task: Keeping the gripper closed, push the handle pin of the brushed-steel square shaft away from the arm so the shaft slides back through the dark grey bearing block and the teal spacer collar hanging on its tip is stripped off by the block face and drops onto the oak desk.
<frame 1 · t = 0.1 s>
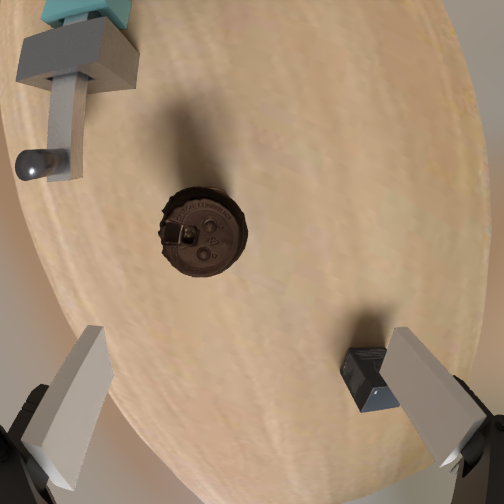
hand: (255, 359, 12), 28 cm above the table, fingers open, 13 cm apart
shaft: (60, 55, 20), point 12 cm above the table, slide at 0.0 cm, touching spacer
box: (362, 359, 49), on the table
spacer: (99, 20, 25), point 4 cm above the table, touching shaft
coffee cup: (207, 210, 38), on the table
bearing block: (102, 75, 31), on the table
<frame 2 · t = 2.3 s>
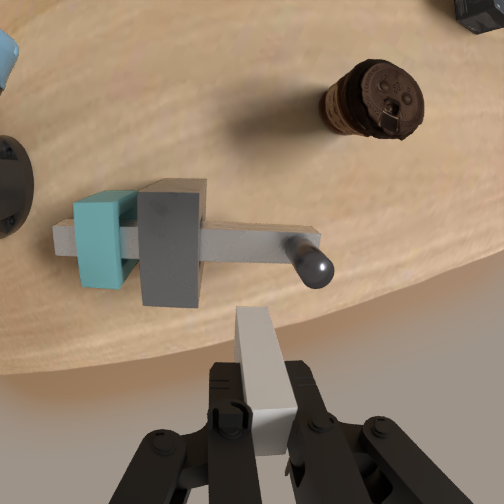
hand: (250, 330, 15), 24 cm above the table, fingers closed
shaft: (175, 249, 25), point 12 cm above the table, slide at 0.0 cm, touching spacer
box: (464, 12, 29), on the table
spacer: (121, 225, 32), point 4 cm above the table, touching shaft
coffee cup: (340, 111, 34), on the table
bearing block: (185, 219, 36), on the table
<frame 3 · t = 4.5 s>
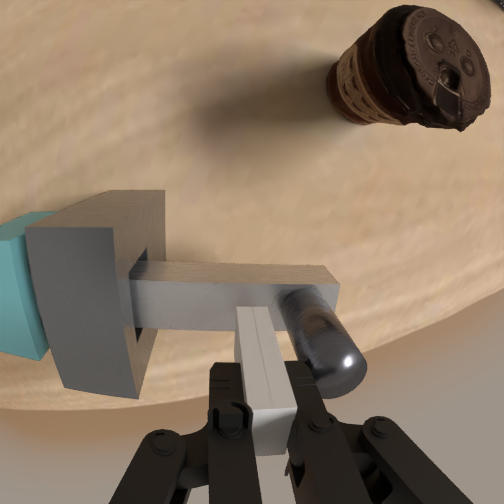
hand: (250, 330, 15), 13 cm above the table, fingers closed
shaft: (101, 316, 14), point 12 cm above the table, slide at 0.4 cm, touching gripper, spacer
spacer: (54, 259, 21), point 4 cm above the table, touching shaft
coffee cup: (356, 92, 23), on the table
bearing block: (138, 246, 25), on the table
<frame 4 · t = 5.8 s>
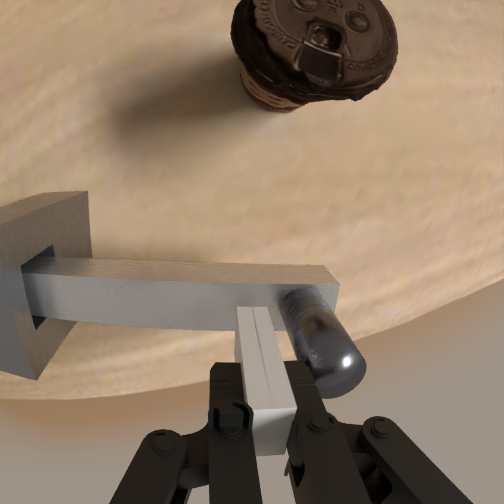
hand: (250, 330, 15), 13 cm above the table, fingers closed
shaft: (101, 315, 14), point 12 cm above the table, slide at 7.7 cm, touching gripper
coffee cup: (277, 79, 22), on the table
bearing block: (68, 244, 25), on the table
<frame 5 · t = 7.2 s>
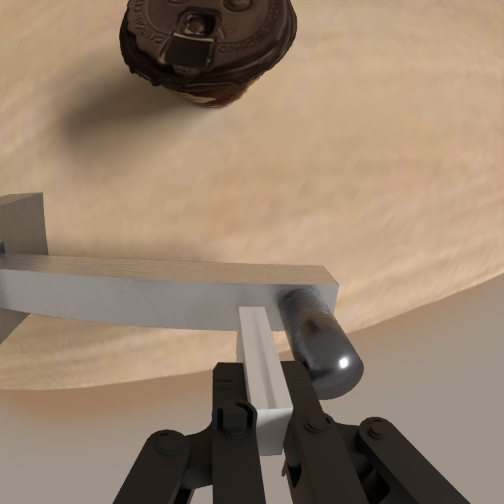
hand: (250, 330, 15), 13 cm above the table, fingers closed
shaft: (100, 314, 14), point 12 cm above the table, slide at 13.1 cm, touching gripper
coffee cup: (212, 74, 22), on the table
bearing block: (28, 242, 24), on the table
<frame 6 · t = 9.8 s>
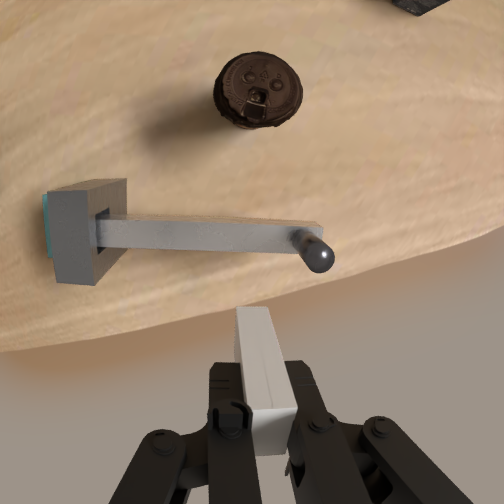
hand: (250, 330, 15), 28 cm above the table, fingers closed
shaft: (197, 240, 29), point 12 cm above the table, slide at 13.0 cm
spacer: (82, 213, 39), on the table
coffee cup: (248, 107, 37), on the table
bearing block: (110, 214, 39), on the table
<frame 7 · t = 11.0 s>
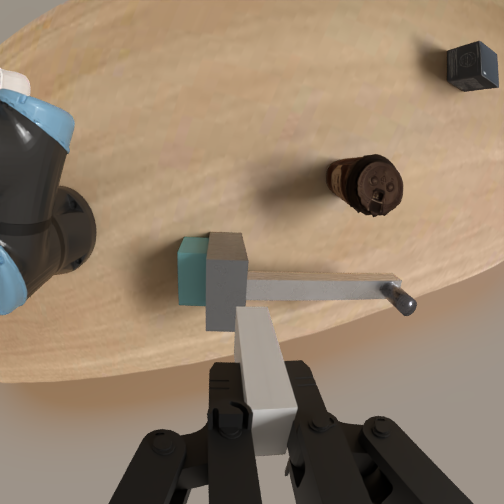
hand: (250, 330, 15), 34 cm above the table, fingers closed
shaft: (326, 295, 40), point 12 cm above the table, slide at 13.0 cm
box: (455, 71, 42), on the table
spacer: (196, 260, 49), on the table
cup: (14, 98, 36), on the table
coffee cup: (342, 178, 47), on the table
bearing block: (224, 262, 50), on the table
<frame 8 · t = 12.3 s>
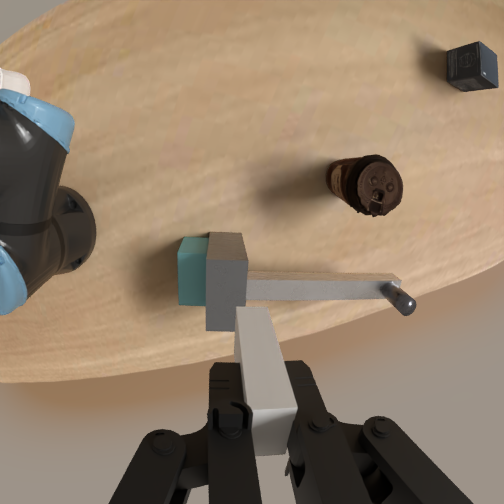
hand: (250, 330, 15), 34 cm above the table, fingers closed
shaft: (326, 295, 40), point 12 cm above the table, slide at 13.0 cm
box: (455, 71, 42), on the table
spacer: (196, 260, 49), on the table
cup: (14, 98, 36), on the table
coffee cup: (342, 178, 47), on the table
bearing block: (224, 262, 50), on the table
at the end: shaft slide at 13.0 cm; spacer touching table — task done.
